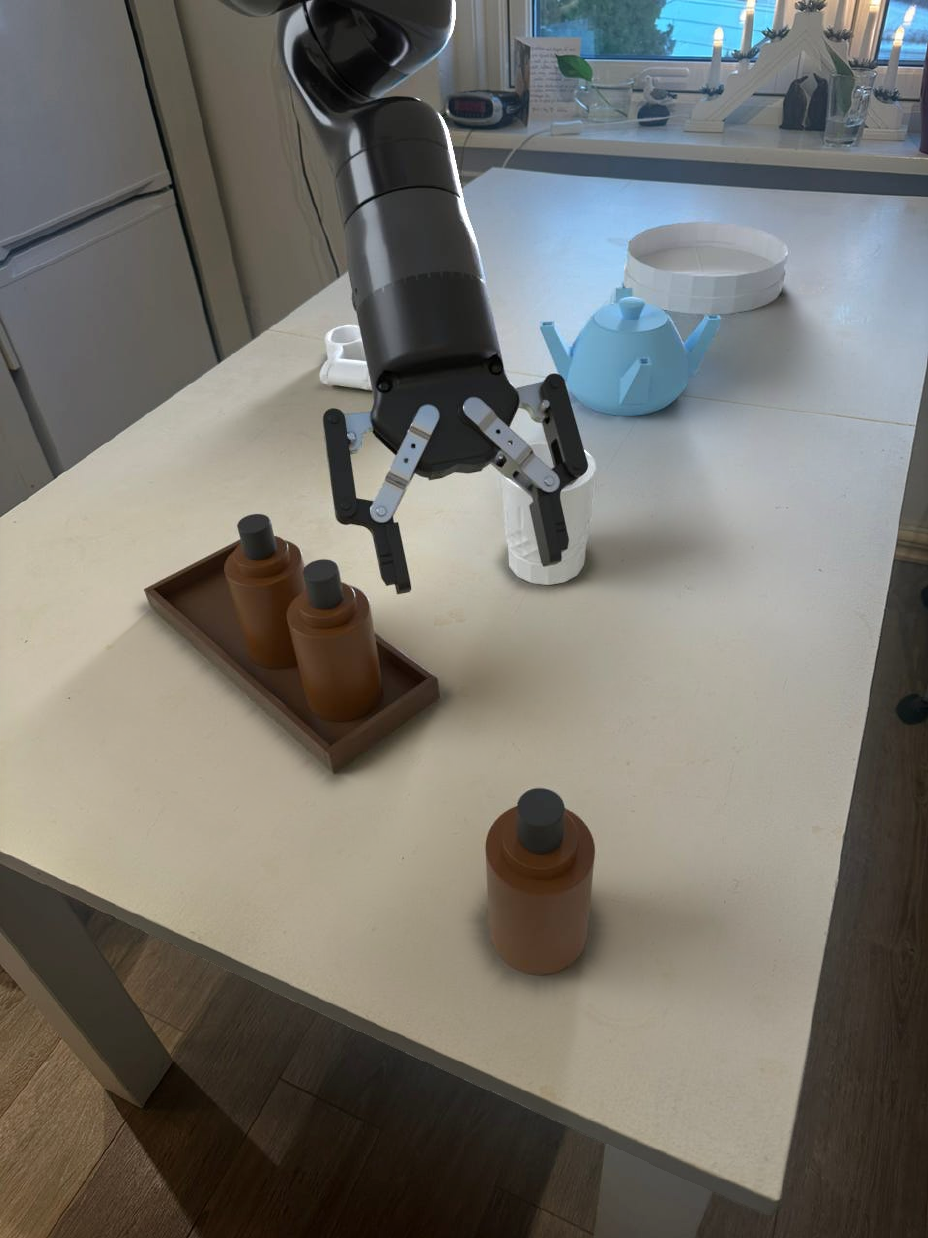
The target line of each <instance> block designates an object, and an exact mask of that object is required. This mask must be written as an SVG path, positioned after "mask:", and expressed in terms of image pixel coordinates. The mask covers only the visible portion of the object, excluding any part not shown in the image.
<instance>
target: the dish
mask: <svg viewBox="0 0 928 1238" xmlns="http://www.w3.org/2000/svg"><path fill="white" fill-rule="evenodd" d="M788 254H789V252H788V246H787V245H786V244H785V243H784V241H783V240H782V239H781V238H779V237H777V236H775V235H773V234H771V233H770V232H767V231H764V230H761V229H758V228H755V227H751V226H746V225H740V224H736V223H726V222H715V221H714V222H713V221H708V222H707V221H689V222H677V223H671V224H664V225H660V226H656V227H652V228H649V229H646V230H644V231H642V232H640V233H638V234H635V235H634V236H633V237H632V238H631V239H630V240H629V241H628V244H627V248H626V261H625V264H624V268H623V270H624V271H623V287H624V288H632V293H633V297H637V298H641V299H643V300H644V301H645V304H650V305H653V306H656V307H659V308H661V309H662V310H664V311H668V312H674V313H681V314H687V315H704V316H705V315H731V314H736V313H741V312H748V311H752V310H756V309H758V308H761V307H764V306H767V305H768V304H770V303H772V302H773V301H774V300H777V299H778V297H779V296H780V294H781V292H782V291H783V286H784V281H785V276H786V264H787V259H788Z"/></svg>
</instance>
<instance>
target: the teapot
mask: <svg viewBox="0 0 928 1238" xmlns="http://www.w3.org/2000/svg"><path fill="white" fill-rule="evenodd" d="M720 315H721V314H715V315H704V317H703V319H702V321H701V322H700V323H699V324H698V326H696V328H695V329H694V331H693V332H691V334H690V336H689V337H688V338H687V339H686V341H685V342H683V339H682V337H681V335H680V333H679V331H678V329H677V328H676V326H675V324H674V321H673V320H672V318H671V316H669V314H668V313H667V312H666V310H664V309H661V308H659V307H656V306H653V305H650V304H645V301H644V300H643V299H641V298H637V297H633V293H632V288H625V287H618V288H617V287H616V288H615V293H614V303H610V304H607V305H604V306H602V307H600V308H599V309H597V310H596V311H595V312H593V314H592V315H591V316H590V317H589V318H588V320H587V321H586V323H585V324H584V325H583V327H582V329H581V330H580V331H579V333H578V334H577V336H576V338H574V339H575V340H574V341H573V343H572V345H571V346H570V345H569V344H568V342H567V341H566V339H565V338H564V336H563V334H562V333H561V332H560V330H559V328H558V327H557V326H556V324H555V321H540V322H539V323H540V324H539V329H540V332H541V334H542V337H543V339H544V342H545V344H546V347H547V349H548V351H549V354H550V356H551V359H552V362H553V364H554V366H555V369H556V372H557V374H559V375H561V376H562V377H563V378H564V380H565V383H566V387H567V389H568V391H570V392H571V394H572V395H573V396H574V397H575V398H576V400H578V402H580V404H581V405H583V406H585V407H586V408H588V409H590V410H593V411H595V412H598V413H601V414H605V415H611V416H618V417H619V416H621V417H635V416H636V417H637V416H644V415H648V414H653V413H656V412H658V411H659V412H660V411H661V410H663V409H665V408H666V407H668V406H669V405H671V404H672V403H673V402H674V401H675V400H676V399H678V398H679V397H680V396H681V395H682V393H683V392H684V391H685V390H686V388H687V386H688V382H689V379H692V378H694V377H695V376H696V374H697V372H698V370H699V367H700V365H702V362H703V360H704V357H705V356H706V354H707V352H708V350H709V347H710V345H711V343H712V342H713V339H714V337H715V336H716V334H717V331H718V329H719V327H720V326H721V323H722V321H723V319H722V316H720Z"/></svg>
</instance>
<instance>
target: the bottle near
mask: <svg viewBox="0 0 928 1238" xmlns="http://www.w3.org/2000/svg"><path fill="white" fill-rule="evenodd" d="M304 566H305V568H304V569H303V577H304V582H305V586H306V589H305V590H304V591H303V592H302V593H301V594H300V595H298V596H297V597H296V598H295V599H294V600H293V601H292V602H291V604H290V606H289V608H288V611H287V621H288V625H289V630H290V634H291V638H292V642H293V646H294V650H295V654H296V659H297V663H298V667H299V671H300V675H301V679H302V683H303V688H304V692H305V696H306V700H307V704H308V706H309V708H310V710H311V711H312V712H313V713H314V714H315V715H316V716H318V717H320V718H322V719H324V720H327V721H331V722H348V721H353V720H356V719H359V718H361V717H363V716H365V715H367V714H368V713H370V712H371V711H372V710H373V709H374V708H375V707H376V706H377V705H378V704H379V702H380V700H381V698H382V694H383V685H382V679H381V672H380V666H379V659H378V653H377V646H376V640H375V633H376V632H375V627H374V622H373V621H374V620H373V615H372V608H371V603H370V599H369V597H368V596H367V594H365V592H364V591H362V590H361V589H360V588H358V587H355V586H353V585H350V584H347V583H345V582H343V581H342V580H341V579H342V578H341V574H340V567H339V565H338V563H337V562H335V561H334V560H331V559H325V558H324V559H321V558H320V559H316V560H313V561H310V562H309V563H307V564H306V565H304ZM374 632H375V633H374Z"/></svg>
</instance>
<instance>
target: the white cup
mask: <svg viewBox="0 0 928 1238" xmlns="http://www.w3.org/2000/svg"><path fill="white" fill-rule="evenodd" d="M527 444H528V445H529V446H530V447H531V448H532V450H533V452H534V454H535V455H536V456H537V457H538V458H539V459H540V460H542V461H543V462H544V463H545V464H546V465H547V466H548V467H549V468H550V469H552V468H554V465H553V461H552V458H551V454H550V450H549V447H548V443H547V441H537V442H532V443H527ZM584 451H585V455H586V458H587V462H588V469H587V471H586V472H585V473H584V474H583V475H582V476H581V477H579V478H578V479H577V480H576V481H575V482H574V483H573V484H572V485H568V486H567V487H565V488H563V489H562V490H561V493H560V500H561V505H562V509H563V514H564V519H565V523H566V528H567V533H568V537H569V543H568V549H567V550H565V551H564V552H562V560H561V562H559V563H557V564H555V565H550V566H545V567H543V565H542V563H541V559H540V555H539V550H538V545H537V541H536V536H535V531H534V527H533V522H532V517H531V513H530V508H529V505H530V504H531V503H532V502H533V499H532V497H531V496H530V495H529V494H527V493H526V492H525V491H524V490H523V489H522V488H521V487H520V486H519V485H517V484H516V483H515V482H514V481H513V480H511V479H508V478H506V477H505V476H504V475H502V474H501V473H500V487H501V497H502V498H501V499H502V515H503V524H504V525H503V526H504V533H505V539H506V542H507V552H508V554H507V555H508V566H509V569H511V570H512V572H513V573H514V574H515V576H516V577H517V578H520V579H522V580H524V581H526V582H527V583H530V584H535V585H544V586H551V585H557V584H562V583H566V582H568V581H569V580H572V579H573V578H575V577H577V576H578V575H579V574H580V572H581V571H582V569H583V567H584V565H585V560H586V550H587V549H586V548H587V542H588V539H589V535H590V525H591V519H592V511H593V503H594V495H595V486H596V477H597V469H598V468H597V467H598V466H597V462H596V460H595V459H594V457H593V456H592V455H591V454H590V453H589V452H588V451H586V450H585V449H584Z"/></svg>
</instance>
